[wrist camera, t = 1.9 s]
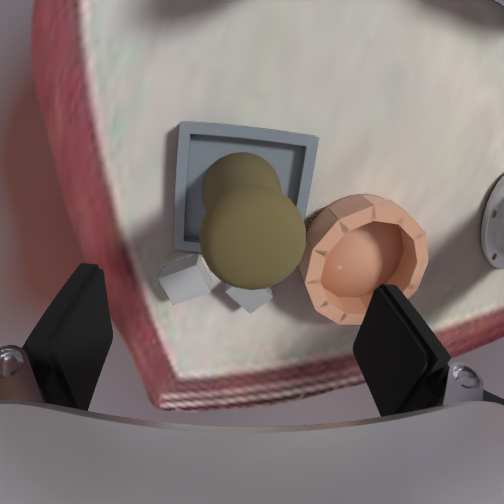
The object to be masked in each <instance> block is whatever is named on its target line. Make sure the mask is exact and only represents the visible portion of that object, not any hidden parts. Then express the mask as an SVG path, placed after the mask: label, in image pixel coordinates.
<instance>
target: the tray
mask: <svg viewBox="0 0 504 504" xmlns="http://www.w3.org/2000/svg"><path fill="white" fill-rule="evenodd" d="M318 140H319V137H316V136H313V135H307V134H301V133H294V132H287V131H280V130H273V129H265V128H257V127H249V126H239V125H229V124H217V123H204V122H188V121H182V122H180V126H179V138H178V151H177V166H176V184H175V206H174V242H173V250H182V251H194V252H201V248H200V241H199V235H200V230H201V225H202V220H203V217H204V215H205V213H206V209H205V206H204V202H203V196H202V185H203V180H204V176H205V175H206V173H207V171H208V170H209V168H210V167H211V166H212V165H213V164H214V163H215V162H216V161H217V160H218V159H220V158H221V157H224V156H226V155H229V154H231V153H238V152H247V153H251V154H256V155H258V156H260V157H261V158H263V159H265V160H266V161H268V162H269V163H270V165H271V166H272V167H273V168H274V169H275V171H276V173H277V176H278V178H279V181H280V185H281V190H282V193H283V194H284V195H286V196H287V197H288V198H289V199H290V200H291V201H292V202H293V204H294V205H295V206H296V207H297V209H298V210H299V211H300V212H301V215H302V218H303V221H304V220H305V214H306V209H307V204H308V198H309V193H310V187H311V182H312V176H313V170H314V164H315V158H316V152H317V146H318Z"/></svg>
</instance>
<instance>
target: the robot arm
mask: <svg viewBox="0 0 504 504" xmlns="http://www.w3.org/2000/svg"><path fill="white" fill-rule="evenodd" d="M481 244H482V250H483V253H484V255H485V257H486V259H487V260H488V262H490V263H491V264H492V265H493V266H494V267H496V268H498V269H504V176H502V178H501V179H500V180H499V182H498V183H497V184H496V186H495V188H494V189H493V191H492V193H491V195H490V197H489V200H488V202H487V205H486V208H485V211H484V215H483V220H482V227H481ZM112 339H113V330H112V325H111V319H110V313H109V307H108V300H107V294H106V286H105V279H104V272H103V270H102V269H99V267H98V265H97V264H87V263H81V264H80V265H79V266H78V267H77V269H76V270H75V271H74V273H73V274H72V275H71V277H70V278H69V279H68V281H67V282H66V283H65V285H64V286H63V287H62V289H61V290H60V292H59V293H58V294H57V296H56V297H55V299H54V300H53V301H52V303H51V304H50V306H49V307H48V309H47V310H46V311H45V313H44V314H43V316H42V317H41V319H40V320H39V322H38V323H37V325H36V327H35V328H34V329H33V331H32V333H31V334H30V336H29V337H28V339H27V340H26V342H25V344H24V346H23V347H22V348H21V347H18V346H15V345H8V346H2V347H0V504H504V399H502V398H500V397H498V396H496V395H493V394H491V393H489V392H487V391H485V390H483V388H484V386H483V385H484V383H483V379H482V376H481V375H480V373H479V372H478V371H477V370H476V369H475V368H474V367H472V366H470V365H469V364H466V363H461V362H457V363H454V364H453V365H451V366H450V367H449V366H448V364H447V363H448V362H449V360H450V358H451V356H450V355H449V354H448V352H447V351H446V349H445V348H444V347H443V345H442V344H441V342H440V341H439V340H438V338H437V337H436V336H435V334H434V333H433V332H432V330H431V329H430V328H429V326H428V325H427V324H426V322H425V321H424V320H423V318H422V317H421V316H420V314H419V313H418V312H417V310H416V309H415V308H414V307H413V305H412V304H411V303H410V302H409V300H408V299H407V298H406V296H405V295H404V294H403V293H402V291H401V290H400V289H399V288H398V287H397V286H396V285H393V284H381V285H380V286H379V287H378V288H376V289H375V290H374V292H373V295H372V297H371V300H370V303H369V306H368V308H367V311H366V314H365V316H364V319H363V322H362V324H361V327H360V329H359V332H358V334H357V337H356V339H355V342H354V345H353V353H354V355H355V358H356V360H357V362H358V364H359V367H360V369H361V371H362V373H363V376H364V378H365V380H366V382H367V385H368V387H369V389H370V392H371V394H372V396H373V399H374V401H375V403H376V406H377V408H378V410H379V413H380V415H381V417H377V418H371V419H364V420H356V421H348V422H339V423H329V424H317V425H303V426H285V427H284V426H283V427H219V426H198V425H185V424H174V423H163V422H155V421H147V420H139V419H132V418H126V417H119V416H113V415H107V414H101V413H95V412H90V411H88V408H89V405H90V402H91V399H92V396H93V393H94V390H95V387H96V384H97V381H98V378H99V376H100V373H101V370H102V367H103V364H104V362H105V359H106V356H107V354H108V351H109V348H110V346H111V343H112Z"/></svg>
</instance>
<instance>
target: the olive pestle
mask: <svg viewBox="0 0 504 504" xmlns="http://www.w3.org/2000/svg"><path fill="white" fill-rule="evenodd" d="M202 196H203V202H204V206H205V209H206V213H205V215H204V217H203V220H202V225H201V230H200V235H199V241H200V248H201V253H202V255H203V257H204V259H205V261H206V263H207V265H208V267H209V269H210V271H212V272H213V273H214V274H215V275H216V276H217V277H218V278H219V279H220V280H221V281H223V282H225V283H227V284H229V285H231V286H233V287H236V288H242V289H247V290H257V289H266V288H268V287H271V286H273V285H276V284H279V283H280V282H281V281H283V280H284V279H285V278H287V277H288V276H289V275H291V274H292V273H293V271H294V270H295V269H296V267H297V266H298V265H299V263H300V262H301V260H302V257H303V254H304V251H305V248H306V227H305V224H304V221H303V218H302V215H301V212H300V211H299V210H298V209H297V207H296V206H295V205H294V204H293V202H292V201H291V200H290V199H289V198H288V197H287V196H286V195H284V194H283V193H282V190H281V185H280V181H279V178H278V176H277V173H276V171H275V169H274V168H273V167H272V166H271V165H270V163H269V162H268V161H266V160H265V159H263V158H261V157H260V156H258V155H256V154H251V153H247V152H238V153H231V154H229V155H226V156H224V157H221V158H220V159H218V160H217V161H216V162H215V163H214V164H213V165H212V166H211V167H210V168H209V170H208V171H207V173H206V175H205V176H204V180H203V185H202Z"/></svg>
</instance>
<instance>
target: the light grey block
mask: <svg viewBox="0 0 504 504" xmlns="http://www.w3.org/2000/svg"><path fill="white" fill-rule="evenodd" d="M158 280H159V282H160V284H161V285H162V287H163V289H164V290H165V292H166V294H167V295H168V297H169V299H170V300H171V302H172V304H173V305H174V304H177V303H180V302H183V301H186V300H189V299H192V298H195V297H198V296H201V295H204V294H207V293H210V292H211V284H212V279H211V277H210V275H209V273H208V271H207V269H206V267H205V265H204V263H203V261H202V259H201V257H200V255H199V254H196V255H194V256H191V257H188V258H186V259H183V260H180V261H178V262H175V263H172V264H170V265H167V266H164V267H162V270H161V272H160V275H159V277H158Z"/></svg>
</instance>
